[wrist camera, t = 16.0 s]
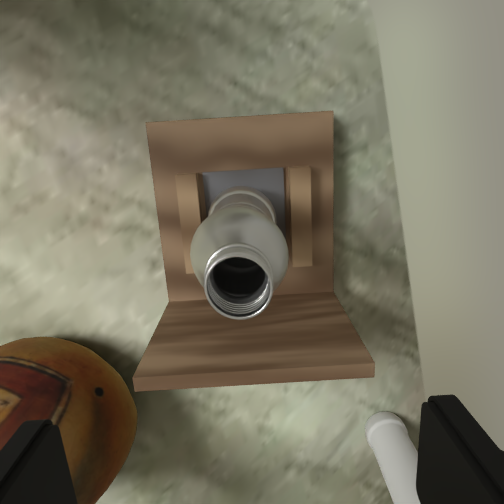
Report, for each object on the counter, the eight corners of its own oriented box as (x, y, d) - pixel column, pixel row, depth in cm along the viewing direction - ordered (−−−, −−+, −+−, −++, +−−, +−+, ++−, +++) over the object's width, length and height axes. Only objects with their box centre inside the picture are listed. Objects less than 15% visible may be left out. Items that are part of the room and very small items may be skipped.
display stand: (151, 123, 39) (86, 111, 23) (328, 112, 39) (383, 93, 23) (174, 304, 45) (135, 393, 29) (328, 294, 44) (374, 379, 29)
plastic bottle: (234, 258, 40) (223, 366, 21) (197, 204, 39) (149, 268, 19) (286, 226, 39) (325, 307, 20) (251, 169, 38) (256, 199, 18)
